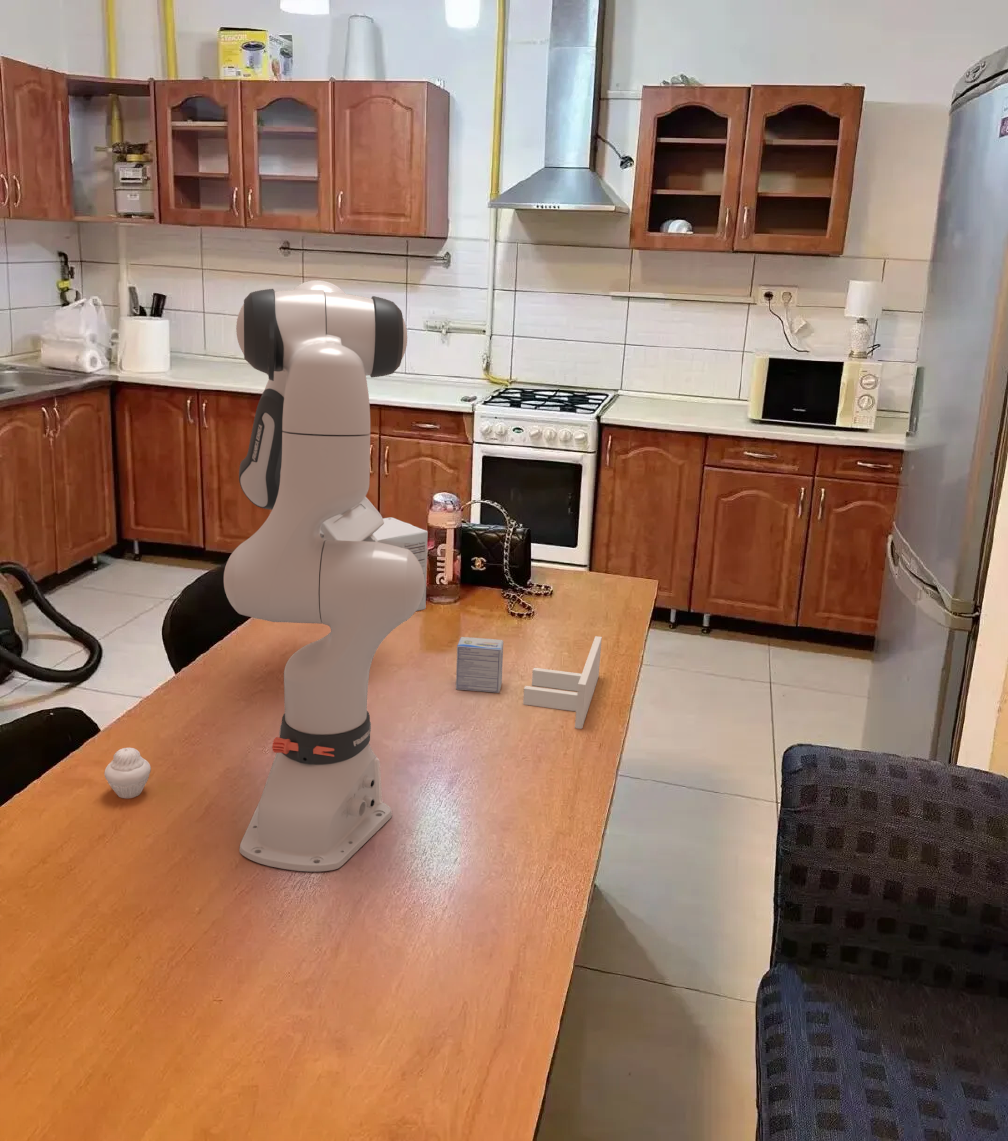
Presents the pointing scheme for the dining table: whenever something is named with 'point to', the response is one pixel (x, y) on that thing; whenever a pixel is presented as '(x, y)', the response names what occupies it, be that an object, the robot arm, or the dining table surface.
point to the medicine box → (479, 664)
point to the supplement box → (406, 543)
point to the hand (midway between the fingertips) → (379, 562)
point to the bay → (566, 686)
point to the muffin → (127, 773)
